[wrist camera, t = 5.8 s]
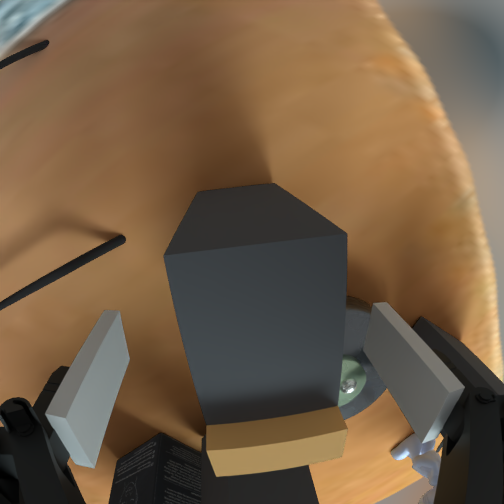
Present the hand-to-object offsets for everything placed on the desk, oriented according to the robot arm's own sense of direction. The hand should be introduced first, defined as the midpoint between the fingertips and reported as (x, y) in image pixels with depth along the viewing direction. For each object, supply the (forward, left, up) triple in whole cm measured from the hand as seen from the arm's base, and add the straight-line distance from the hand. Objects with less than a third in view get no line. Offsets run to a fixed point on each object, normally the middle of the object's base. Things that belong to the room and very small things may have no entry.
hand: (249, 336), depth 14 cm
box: (+2, -19, -5) cm, 20 cm away
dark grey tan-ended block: (-1, +2, -5) cm, 5 cm away
